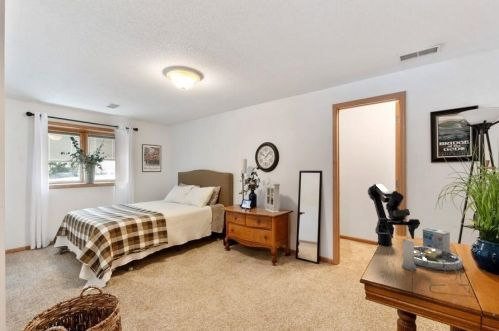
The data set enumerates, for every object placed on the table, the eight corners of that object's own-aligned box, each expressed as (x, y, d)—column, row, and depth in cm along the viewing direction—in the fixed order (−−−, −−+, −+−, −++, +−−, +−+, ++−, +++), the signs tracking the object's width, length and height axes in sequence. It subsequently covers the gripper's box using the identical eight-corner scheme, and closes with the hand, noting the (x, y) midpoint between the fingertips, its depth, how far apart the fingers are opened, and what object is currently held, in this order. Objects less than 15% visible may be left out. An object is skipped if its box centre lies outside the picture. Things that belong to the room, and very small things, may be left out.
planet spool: (399, 267, 113) (398, 240, 113) (405, 264, 116) (404, 237, 116) (412, 271, 108) (411, 243, 108) (418, 268, 111) (417, 240, 111)
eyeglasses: (473, 293, 90) (473, 280, 90) (429, 290, 93) (429, 277, 93) (447, 274, 106) (447, 263, 106) (410, 272, 109) (410, 261, 109)
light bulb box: (422, 247, 138) (422, 228, 138) (429, 245, 141) (428, 227, 140) (443, 253, 128) (443, 233, 128) (450, 251, 131) (450, 231, 131)
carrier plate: (393, 258, 123) (393, 250, 123) (415, 248, 136) (415, 241, 136) (450, 276, 103) (450, 266, 103) (470, 262, 115) (470, 254, 115)
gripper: (378, 203, 125) (386, 229, 114) (418, 203, 121) (430, 230, 110) (374, 214, 133) (381, 240, 122) (411, 215, 128) (422, 242, 118)
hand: (402, 238), depth 118 cm, fingers open, 9 cm apart
